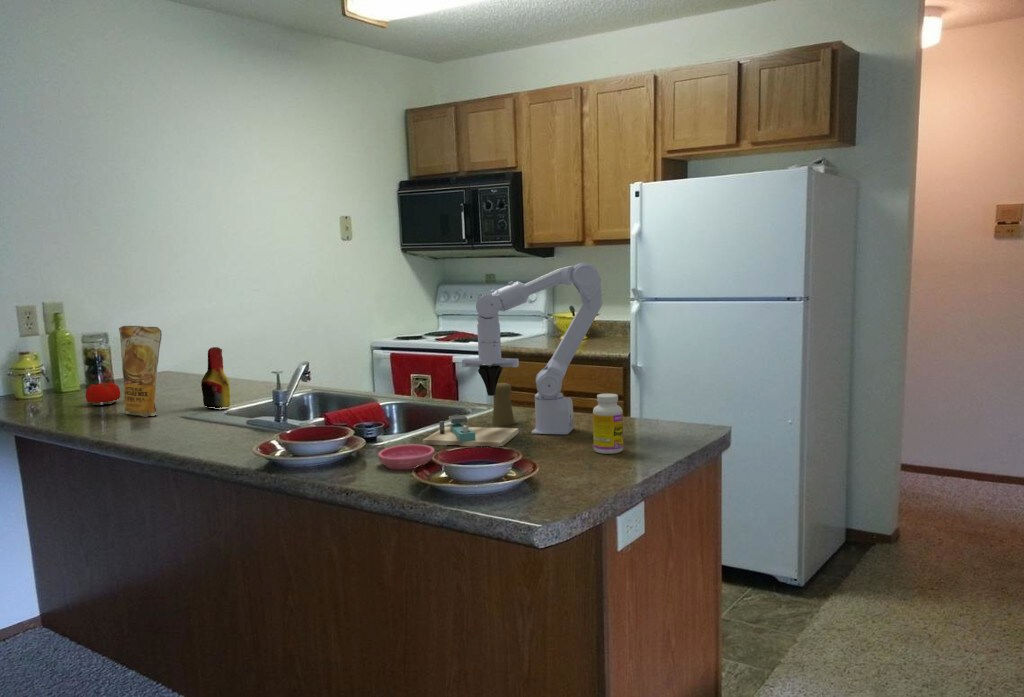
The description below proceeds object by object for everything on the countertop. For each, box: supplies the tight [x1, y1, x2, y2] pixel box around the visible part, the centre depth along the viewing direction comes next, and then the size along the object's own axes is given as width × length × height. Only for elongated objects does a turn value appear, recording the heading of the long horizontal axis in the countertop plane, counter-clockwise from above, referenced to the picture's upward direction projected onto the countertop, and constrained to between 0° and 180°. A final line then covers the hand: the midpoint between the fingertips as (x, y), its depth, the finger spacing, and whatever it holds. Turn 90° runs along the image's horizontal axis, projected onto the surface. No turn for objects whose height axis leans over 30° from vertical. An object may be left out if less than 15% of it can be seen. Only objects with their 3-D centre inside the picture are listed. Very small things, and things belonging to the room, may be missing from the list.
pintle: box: [462, 424, 469, 433], centre depth 184 cm, size 1×1×3 cm
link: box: [449, 423, 475, 441], centre depth 188 cm, size 13×4×2 cm, turn 17°
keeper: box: [438, 414, 468, 434], centre depth 194 cm, size 6×7×5 cm
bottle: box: [200, 346, 231, 408], centre depth 244 cm, size 12×6×20 cm, turn 52°
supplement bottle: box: [592, 393, 624, 455], centre depth 172 cm, size 7×7×13 cm
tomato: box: [85, 381, 121, 403], centre depth 262 cm, size 11×11×8 cm
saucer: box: [377, 443, 436, 471], centre depth 168 cm, size 12×12×3 cm
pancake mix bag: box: [118, 325, 162, 413], centre depth 239 cm, size 7×19×28 cm, turn 57°
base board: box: [422, 426, 520, 447], centre depth 190 cm, size 20×15×1 cm
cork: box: [491, 382, 515, 427], centre depth 206 cm, size 6×6×11 cm
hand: (491, 395), depth 194 cm, fingers closed
